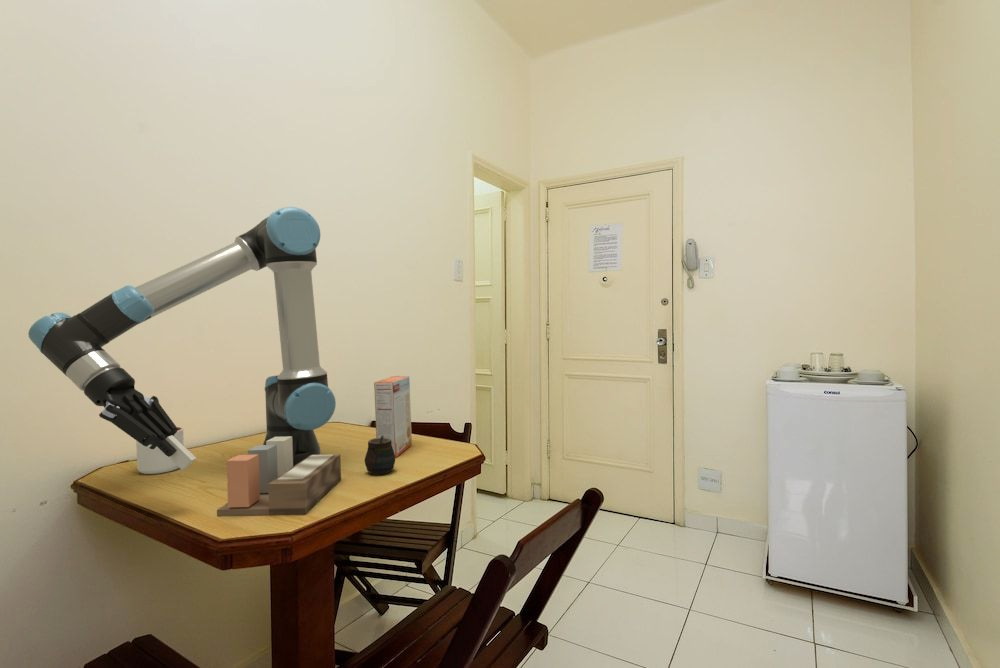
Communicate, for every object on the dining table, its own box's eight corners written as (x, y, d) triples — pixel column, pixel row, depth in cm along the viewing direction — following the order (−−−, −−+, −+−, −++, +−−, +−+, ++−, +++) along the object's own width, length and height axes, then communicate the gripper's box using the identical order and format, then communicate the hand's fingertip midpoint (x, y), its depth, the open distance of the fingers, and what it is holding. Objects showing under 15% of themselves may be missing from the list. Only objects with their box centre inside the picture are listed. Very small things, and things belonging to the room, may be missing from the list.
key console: (268, 481, 117) (267, 454, 117) (341, 480, 117) (340, 452, 116) (217, 515, 96) (215, 482, 96) (305, 514, 96) (304, 481, 95)
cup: (192, 463, 134) (191, 426, 133) (169, 475, 124) (167, 434, 123) (154, 464, 133) (153, 427, 133) (127, 476, 123) (126, 435, 123)
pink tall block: (240, 499, 100) (238, 454, 100) (259, 499, 100) (258, 454, 100) (228, 507, 96) (226, 460, 96) (248, 507, 96) (247, 460, 96)
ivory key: (276, 475, 116) (275, 436, 116) (293, 474, 116) (292, 436, 116) (267, 481, 112) (266, 441, 112) (285, 480, 112) (283, 440, 112)
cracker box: (393, 445, 149) (391, 375, 149) (412, 445, 149) (410, 375, 148) (375, 458, 135) (373, 381, 135) (396, 458, 135) (394, 381, 134)
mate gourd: (389, 466, 127) (388, 427, 127) (400, 473, 121) (400, 432, 121) (361, 471, 123) (360, 431, 123) (371, 479, 117) (371, 436, 117)
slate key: (259, 486, 108) (258, 445, 108) (277, 486, 108) (276, 444, 108) (249, 493, 104) (247, 450, 104) (268, 492, 104) (267, 449, 104)
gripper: (115, 389, 104) (196, 468, 104) (59, 398, 91) (152, 488, 91) (140, 363, 104) (221, 442, 104) (87, 368, 91) (180, 459, 91)
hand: (189, 464), depth 97 cm, fingers closed
